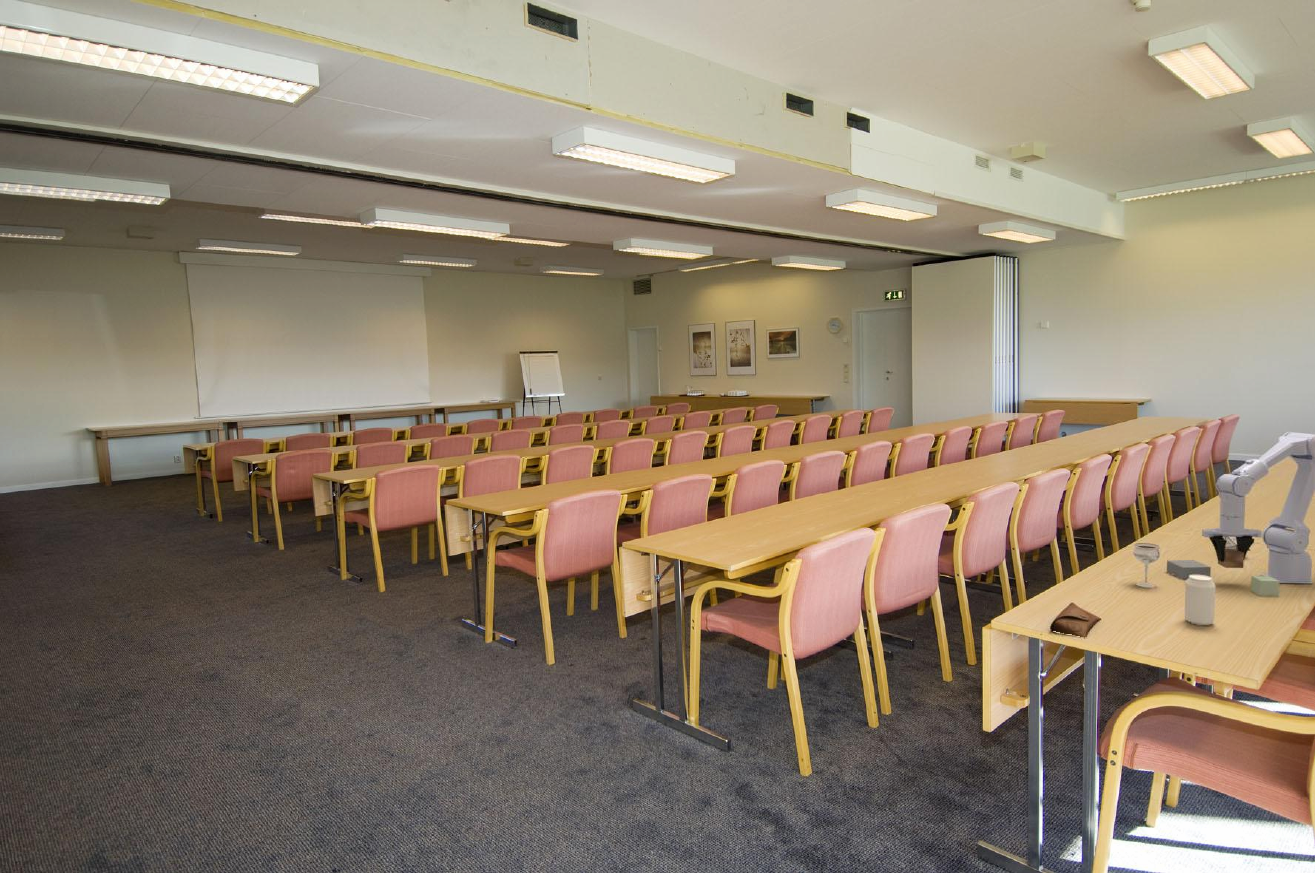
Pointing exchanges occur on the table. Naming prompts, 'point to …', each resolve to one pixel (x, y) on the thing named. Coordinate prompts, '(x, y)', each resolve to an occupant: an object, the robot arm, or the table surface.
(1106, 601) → the table surface
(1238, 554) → the walnut block
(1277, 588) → the sage-green block
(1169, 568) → the grey square block
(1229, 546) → the game die
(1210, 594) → the beverage can
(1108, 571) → the table surface
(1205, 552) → the table surface
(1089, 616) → the sunglasses case
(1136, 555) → the wineglass
